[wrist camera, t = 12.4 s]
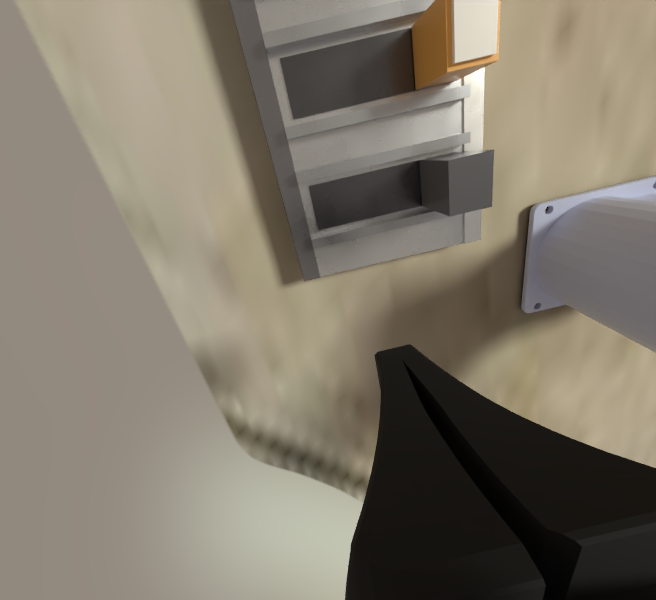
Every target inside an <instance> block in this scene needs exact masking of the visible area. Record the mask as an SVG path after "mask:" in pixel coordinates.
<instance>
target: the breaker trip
mask: <svg viewBox="0 0 656 600" xmlns="http://www.w3.org/2000/svg"><path fill="white" fill-rule="evenodd" d="M500 4H501V0H435V1H434V2H433V3H432V4H431V5H430V6H429V7H428V9H427V10H426V11H425V12H424V13H423V14H422V15H421V16H420V18H419V19H418V20H417V21H416V22H415V23H414V24H413V26H412V41H413V56H414V72H415V87H416V90H419V89H424V88H428V87H432V86H436V85H441V84H445V83H449V82H453V81H457V80H459V79H461V78H463V77H465V76H467V75H469V74H471V73H473V72H475V71H477V70H479V69H482V68H484V67H486V66H488V65H490V64H492V63H494V62H496V61H498V58H499V31H500Z"/></svg>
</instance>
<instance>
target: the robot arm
mask: <svg viewBox="0 0 656 600" xmlns="http://www.w3.org/2000/svg"><path fill="white" fill-rule="evenodd" d="M547 207H548V211H547V212H545V210H546V208H547ZM536 304H537V305H536ZM535 305H536V306H535ZM563 305H568V306H570V307H571V308H573V309H575V310H577V311H579V312H581V313H583V314H584V315H586V316H588V317H590V318H592V319H594V320H596V321H598V322H599V323H601V324H603V325H605V326H607V327H609V328H611V329H612V330H614V331H616V332H618V333H620V334H622V335H624V336H626V337H627V338H629V339H631V340H633V341H635V342H637V343H639V344H640V345H642V346H644V347H646V348H648V349H650V350H652V351H653V352H655V353H656V175H655V176H651V177H646V178H642V179H638V180H634V181H629V182H625V183H621V184H617V185H612V186H608V187H604V188H600V189H595V190H591V191H587V192H583V193H578V194H574V195H570V196H566V197H561V198H557V199H553V200H549V201H544V202H540V203H537V204H535V205H534V206H533V207H532V208H531V210H530V217H529V228H528V239H527V249H526V260H525V271H524V282H523V293H522V304H521V309H522V310H523V311H524V312H525V313H533V312H537V311H542V310H546V309H550V308H554V307H559V306H563ZM375 360H376V366H377V371H378V377H379V383H380V389H381V405H380V421H379V431H378V438H377V445H376V451H375V457H374V462H373V467H372V472H371V476H370V480H369V484H368V488H367V492H366V496H365V500H364V504H363V507H362V511H361V514H360V517H359V520H358V523H357V527H356V530H355V533H354V536H353V539H352V543H351V552H350V559H349V566H348V574H347V583H346V595H345V596H346V597H345V600H656V468H653V467H650V466H647V465H644V464H641V463H638V462H635V461H632V460H629V459H626V458H623V457H620V456H617V455H614V454H611V453H608V452H605V451H603V450H600V449H597V448H595V447H592V446H589V445H587V444H584V443H582V442H579V441H576V440H574V439H571V438H569V437H566V436H564V435H562V434H559V433H557V432H554V431H552V430H550V429H548V428H545V427H543V426H541V425H539V424H536V423H534V422H532V421H530V420H528V419H525V418H523V417H521V416H519V415H517V414H515V413H513V412H511V411H509V410H507V409H506V408H504V407H502V406H500V405H498V404H496V403H494V402H492V401H491V400H489V399H487V398H485V397H484V396H482V395H480V394H479V393H477V392H476V391H474V390H472V389H471V388H469V387H468V386H466V385H465V384H463V383H462V382H460V381H458V380H457V379H456V378H454V377H453V376H451V375H450V374H448V373H447V372H446V371H444V370H443V369H441V368H440V367H439V366H437V365H436V364H435V363H433V362H432V361H431V360H429V359H428V358H427V357H426V356H424V355H423V354H422V353H421V352H419V351H418V350H417V349H416V348H414V347H413V346H412V345H410V344H409V345H405V346H401V347H397V348H392V349H388V350H384V351H380V352H377V353H376V354H375Z"/></svg>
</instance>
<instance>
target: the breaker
mask: <svg viewBox="0 0 656 600" xmlns="http://www.w3.org/2000/svg"><path fill="white" fill-rule="evenodd" d="M493 160H494V150H478V151H457V152H452V153H448V154H444V155H439V156H435V157H431V158H427V159H422V160H419V165H420V180H421V195H422V206H423V207H425V208H428V209H431V210H433V211H436V212H439V213H442V214H444V215H447V216H454V215H459V214H463V213H467V212H471V211H475V210H480V209H484V208H488V207H492V188H493Z"/></svg>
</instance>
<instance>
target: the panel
mask: <svg viewBox="0 0 656 600" xmlns="http://www.w3.org/2000/svg"><path fill="white" fill-rule="evenodd" d="M434 1H435V0H230V4H231V8H232V12H233V15H234V19H235V23H236V27H237V30H238V34H239V38H240V42H241V45H242V49H243V53H244V57H245V60H246V64H247V68H248V72H249V75H250V79H251V83H252V87H253V90H254V94H255V98H256V102H257V105H258V109H259V113H260V116H261V120H262V124H263V128H264V131H265V135H266V139H267V143H268V146H269V150H270V154H271V158H272V161H273V165H274V169H275V173H276V176H277V180H278V184H279V188H280V191H281V195H282V199H283V203H284V206H285V210H286V214H287V218H288V221H289V225H290V229H291V233H292V236H293V240H294V244H295V248H296V251H297V255H298V259H299V263H300V266H301V270H302V274H303V278H304V281H307V280H312V279H316V278H320V277H322V276H326V275H330V274H334V273H339V272H343V271H347V270H351V269H356V268H360V267H364V266H368V265H373V264H377V263H381V262H385V261H390V260H394V259H398V258H402V257H407V256H411V255H415V254H419V253H424V252H428V251H432V250H436V249H441V248H445V247H449V246H453V245H458V244H462V243H469V242H473V241H477V240H481V209H480V210H475V211H471V212H467V213H463V214H459V215H454V216H447V215H444V214H442V213H439V212H436V211H433V210H431V209H428V208H425V207H423V206H422V195H421V180H420V165H419V160H422V159H427V158H431V157H435V156H439V155H444V154H448V153H452V152H457V151H478V150H483V108H484V68H482V69H479V70H477V71H475V72H473V73H471V74H469V75H467V76H465V77H463V78H461V79H459V80H457V81H453V82H449V83H445V84H441V85H436V86H432V87H428V88H424V89H419V90H416V87H415V72H414V56H413V41H412V26H413V24H414V23H415V22H416V21H417V20H418V19H419V18H420V16H421V15H422V14H423V13H424V12H425V11H426V10H427V9H428V7H429V6H430V5H431V4H432V3H433V2H434Z"/></svg>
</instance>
